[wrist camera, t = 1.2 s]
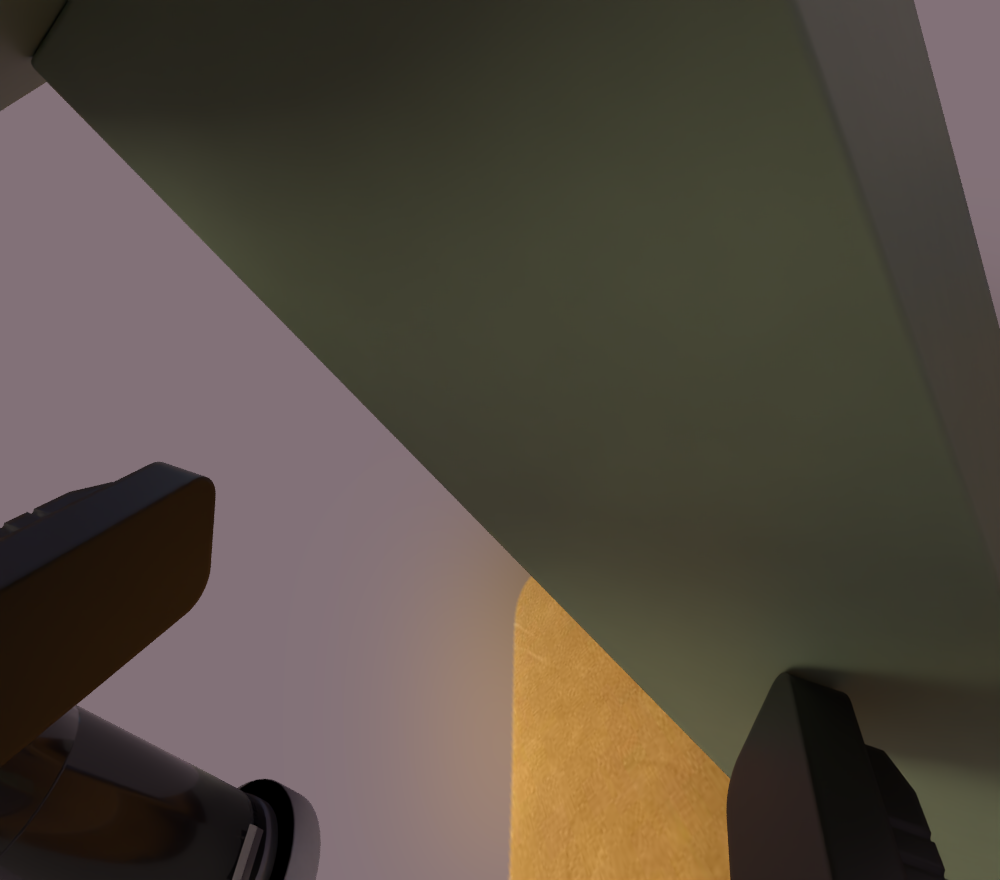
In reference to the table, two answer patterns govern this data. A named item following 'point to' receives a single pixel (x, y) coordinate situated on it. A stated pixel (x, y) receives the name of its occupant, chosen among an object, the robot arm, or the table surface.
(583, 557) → the stand
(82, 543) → the robot arm
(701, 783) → the table surface
